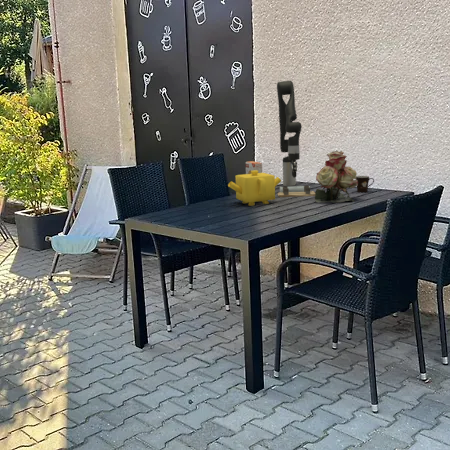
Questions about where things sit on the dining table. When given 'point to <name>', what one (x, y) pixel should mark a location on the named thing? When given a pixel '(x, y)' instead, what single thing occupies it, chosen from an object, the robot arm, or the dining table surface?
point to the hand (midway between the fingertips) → (294, 176)
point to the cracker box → (253, 167)
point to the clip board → (296, 194)
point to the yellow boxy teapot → (255, 187)
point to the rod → (294, 189)
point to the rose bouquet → (335, 179)
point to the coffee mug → (363, 183)
